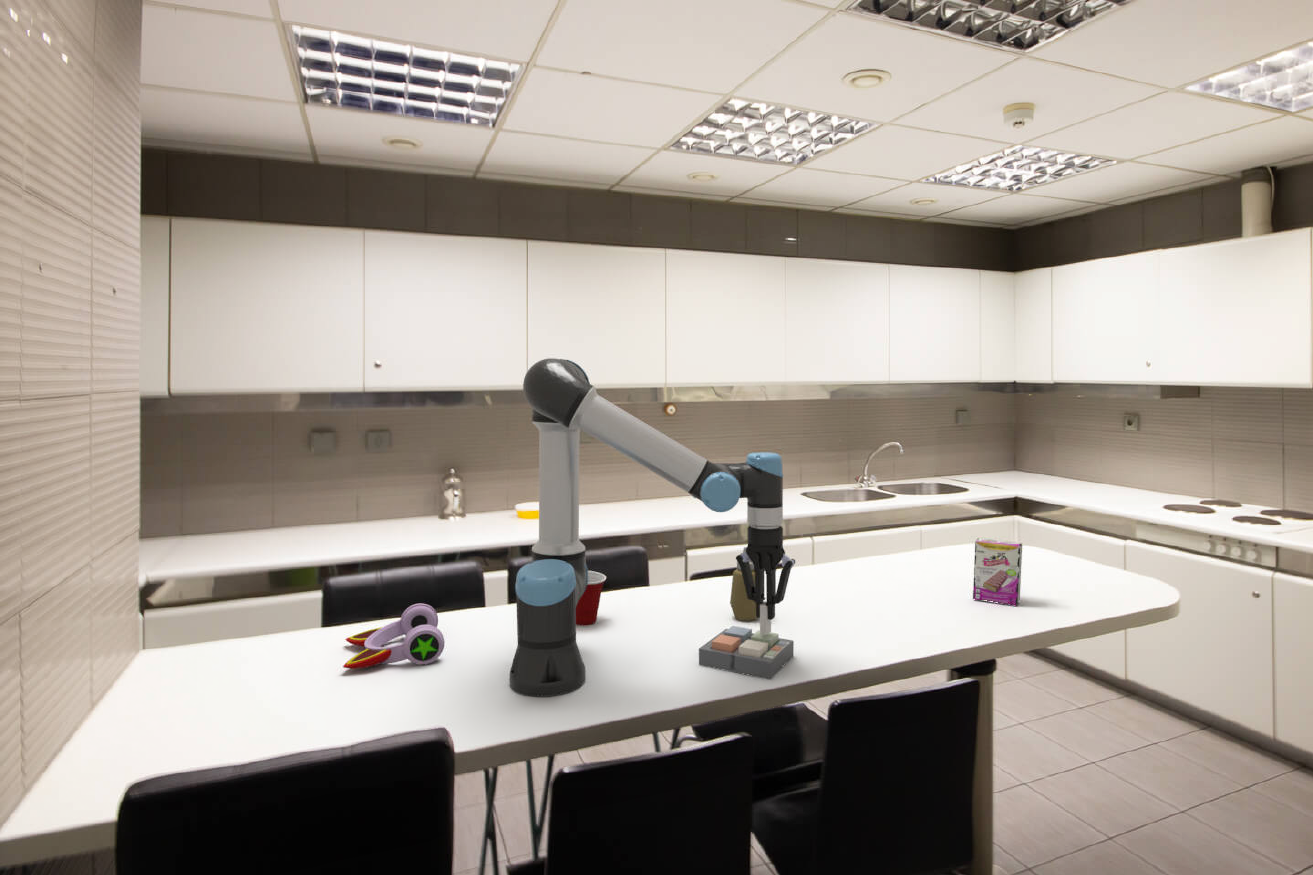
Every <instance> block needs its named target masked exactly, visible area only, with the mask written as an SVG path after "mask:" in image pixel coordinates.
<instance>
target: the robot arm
mask: <svg viewBox="0 0 1313 875" xmlns="http://www.w3.org/2000/svg"><path fill="white" fill-rule="evenodd" d="M522 387H523V388H522V389H523V395H524V399H525V400H526V402H527V403H528V405H529V406H530V407H531V411H532V412H531V418H532V420H531V421H532V424H533V425H534V426H535V427H536V428H537V429H538V431H539V432H538V433H539V434H538V435H539V436H538V437H539V438H538V442H539V448H538V450H539V452H538V453H539V454H538V455H539V456H538V458H539V461H538V463H539V464H538V469H539V470H538V473H539V474H538V482H539V483H538V489H539V490H538V495H539V496H538V499H539V500H538V541H537V542H535V543H534V544H533V545H532V547H531V562H530V563H529V562H528V563H526V564H525V565H523V566H521V567H520V568H519V570H518V572H517V574H516V581H515V585H514V586H515V596H516V598H515V599H516V601H515V602H516V628H517V629H516V630H517V632H516V633H517V647H516V650H515V653H514V656H513V660H512V663H511V667H510V670H509V675H508V676H509V686H510V688H511V689H512V690H513V691H515V692H516V693H518V694H521V695H525V696H532V697H550V696H551V697H552V696H558V695H563V694H568V693H570V692H573V691H575V690H577V689H578V688H580V687H581V686H582V685H584V683H585V682H586V677H587V676H586V665H585V664H584V662H583V660H582V659H583V658H582V655H581V652H580V650H579V646H578V643H577V625H576V606H577V604H578V602H579V599H580V597H581V596H582V595H583V593H584V592H585V589H586V586H587V584H588V571H589V570H588V565H587V563H586V546H585V545H584V543H582V541H580V535H579V533H580V529H579V528H580V527H579V526H580V524H579V523H580V522H579V521H580V438H581V437H580V432H581V431H583V432H584V433H586V434H588V435H590V436H592V437H593V438H594V439H595V440H598V441H599V442H601V443H603V444H605V445H607V446H608V447H609V448H611V449H613V450H615V451H617V452H618V453H619V454H622V455H623V456H625V457H627V458H628V459H630V460H632V461H633V462H635V463H637V464H638V465H641V466H642V467H644V469H645V468H646V469H647V470H649V471H650V472H653V473H654V474H656V475H657V476H659V477H660V478H662V479H664V480H666V481H668V482H669V483H671V484H673V485H674V486H676V487H678V488H680V489H681V490H682V491H685V492H686V493H688V494H689V495H690V496H692V498H693V499H698V500H699V501H700V502H702V503H703V505H705V507H706V508H708V509H709V510H710V511H713V512H716V513H725V512H729V511H732V509H734V508H735V507H736V505H738V503H739V500H740V499H746V500H747V502H746V504H747V505H746V506H747V507H746V508H747V510H746V512H747V514H746V515H747V518H746V523H747V524H748V526H747V528H746V529H747V538H746V540H747V546H746V547H747V548H746V552H744V553H743V552H741V553H739V554H738V555H736V556H735V560H736V563H737V562H738V563H739V565H740V567H741V572H742V576H743V580H744V585H745V589H746V594H747V598H748V599H749V600H753V601H754V602H755V603H756V616H757V619H759V630H760V634H761V635H768V634H769V633H770V632H771V633H772V621H773V619H775V617H776V605H778V604H780V603H781V602H782V601H784V599H785V595H786V590H787V587H788V583H789V578H790V575H791V571H792V570H791V569H792V568H793V567H794V566H795V564H796V559H794V558H790V557H789V556H787V555H786V550H785V549H784V546H783V545H784V528H783V526H782V525H783V523H784V517H783V516H784V511H783V510H784V506H783V504H784V502H783V501H784V500H783V499H784V495H783V494H784V472H783V471H784V470H783V459H782V456H781V455H780V454H779V453H775V452H764V451H763V452H750V453H748V454H747V456H746V461H745V462H739V463H734V462H732V463H731V462H730V463H728V462H727V463H725V462H724V463H723V462H716V463H715V462H712V461H710V460H708V459H706V458H705V457H703V456H702V455H699V454H697V452H695V451H693V450H691V449H689V448H688V447H687V446H684V445H683V444H681V443H680V442H678V441H676V440H675V439H673V438H672V437H669V436H667V435H666V434H664V433H662V432H661V431H659V430H658V429H656V428H655V427H653V426H651V425H649V424H647V423H645V422H644V421H642V420H641V419H639V418H638V417H636V416H634V415H633V414H631V413H629V412H627V411H626V410H624V409H622V408H621V407H619V406H617V405H615V404H614V403H613V402H611V401H609V400H607V399H606V398H604V397H602V396H601V395H599V394H598V392H597V388H596V387H595V386H594V385H592V384H591V383H590V380H589V376H588V375H587V373H586V372H585V370H584V369H583V368H582V367H581V366H580V365H579V364H578V363H576V362H574V361H573V360H570V359H562V358H555V357H554V358H549V357H548V358H544V359H541V360H539V361H537V362H536V363H535V362H534V364H532V366H531V367H530V368H529V369H528V370H527V372H526V373H525V375H524V378H523V383H522ZM749 558H750V560H751V561H752V563H753V564H754V572H755V585H754V580H753V576H752V572H751V567H750V564H749ZM781 561H782V562H781ZM780 563H781V566H782V568H781V572H780V576H779V580H778V583H776V582H777V580H776V579H777V578H776V577H777V576H776V572H777V566H779V564H780ZM765 574H766V577H765ZM765 582H766V583H765ZM776 584H777V585H776ZM776 586H777V587H776ZM765 587H766V590H765ZM765 591H766V595H765ZM765 596H766V597H765Z"/></svg>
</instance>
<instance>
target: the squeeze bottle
mask: <svg viewBox="0 0 1313 875" xmlns="http://www.w3.org/2000/svg"><path fill="white" fill-rule="evenodd" d="M746 548H747V546H744V547H743V551H742V553H744V552H746ZM749 564H750V567H751V572H752V576H753V580H754V585H755V572H754V564H753V563H752V561H751V560H750V558H749ZM731 580H732V581H731V590H730V591H731V592H730V602H729V604H730V607H731V611H732V613H733V616H734V618H735V619H736V620H739V621H743V622H744V621H747V622H748V621H755V620H757V619H758V618H757V616H756V603H755V602H754V601H753V600H749V599H748V598H747V594H746V589H745V585H744V580H743V576H742V572H741V567H740V565H739V563H738V562H737V561H736V569H735V570H733V572H732V579H731Z"/></svg>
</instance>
